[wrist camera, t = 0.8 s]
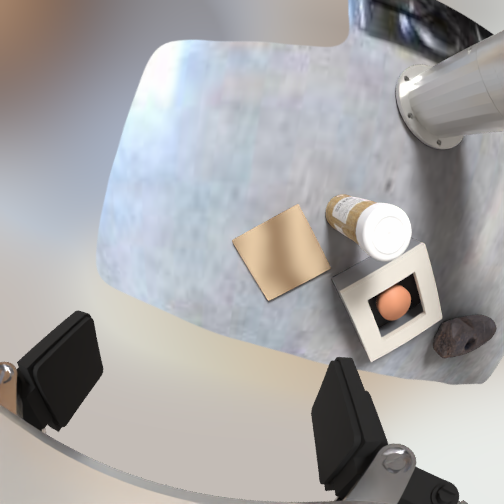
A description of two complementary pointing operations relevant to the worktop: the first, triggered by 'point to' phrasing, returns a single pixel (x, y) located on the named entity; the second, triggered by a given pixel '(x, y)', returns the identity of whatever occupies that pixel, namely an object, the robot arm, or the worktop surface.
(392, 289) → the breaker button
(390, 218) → the sprinkles bottle
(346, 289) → the grey square open box
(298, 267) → the coaster
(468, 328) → the perforated stone tool
